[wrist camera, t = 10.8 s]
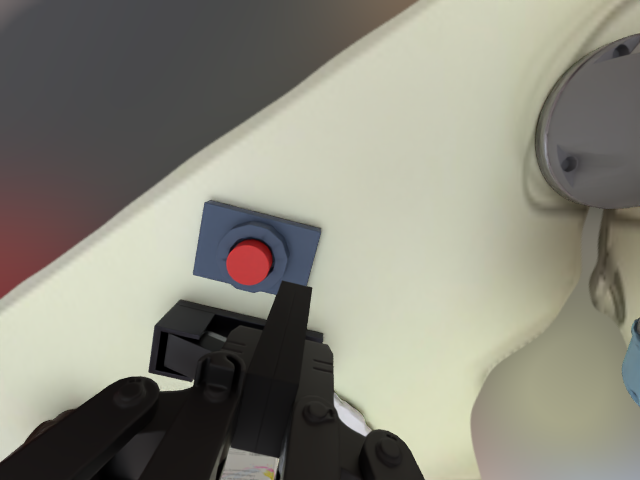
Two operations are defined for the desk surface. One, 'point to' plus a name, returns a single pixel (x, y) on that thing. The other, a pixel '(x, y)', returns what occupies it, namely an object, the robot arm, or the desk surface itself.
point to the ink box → (249, 466)
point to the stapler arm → (190, 351)
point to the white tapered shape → (351, 416)
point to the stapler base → (199, 330)
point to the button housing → (241, 224)
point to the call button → (249, 262)
